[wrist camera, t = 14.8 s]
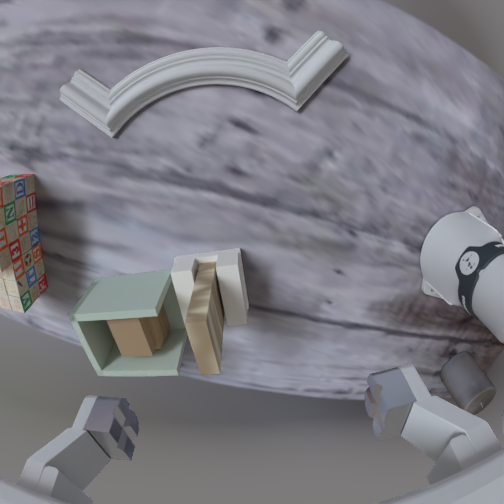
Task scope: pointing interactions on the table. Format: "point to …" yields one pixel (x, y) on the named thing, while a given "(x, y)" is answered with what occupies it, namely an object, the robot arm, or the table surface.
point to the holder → (228, 279)
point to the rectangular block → (206, 320)
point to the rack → (131, 325)
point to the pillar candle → (467, 383)
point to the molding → (205, 79)
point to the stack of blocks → (19, 244)
